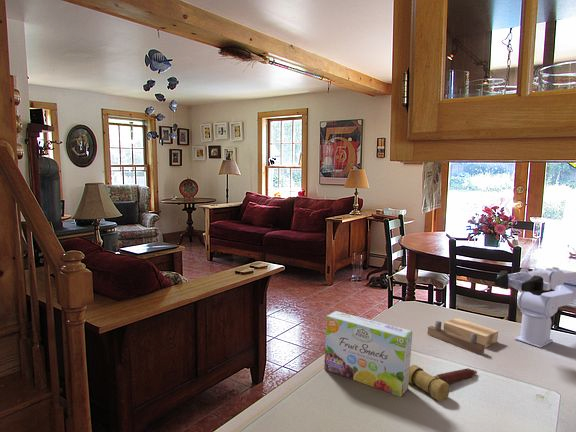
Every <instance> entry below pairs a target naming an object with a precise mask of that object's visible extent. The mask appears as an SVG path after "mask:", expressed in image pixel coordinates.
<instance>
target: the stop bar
mask: <svg viewBox="0 0 576 432" xmlns="http://www.w3.org/2000/svg"><path fill="white" fill-rule="evenodd" d="M427 335H428V336H431V337H433V338H436V339H438V340H440V341H444V342H446V343H449V344H452V345H454V346H457V347H459V348H462V349H464V350H467V351H469V352H473V353H475V354H478V355H480V356H481V355H484V354H485V345H483V344H480V343H477V334H475V333H471V338H470V340H469V339H466V338H464V337H461V336H458V335H455V334H453V333H450V332H447V331H445V330H444V329H442V321H440V320H435V324H434V326H433V325H430V326H427Z"/></svg>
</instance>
